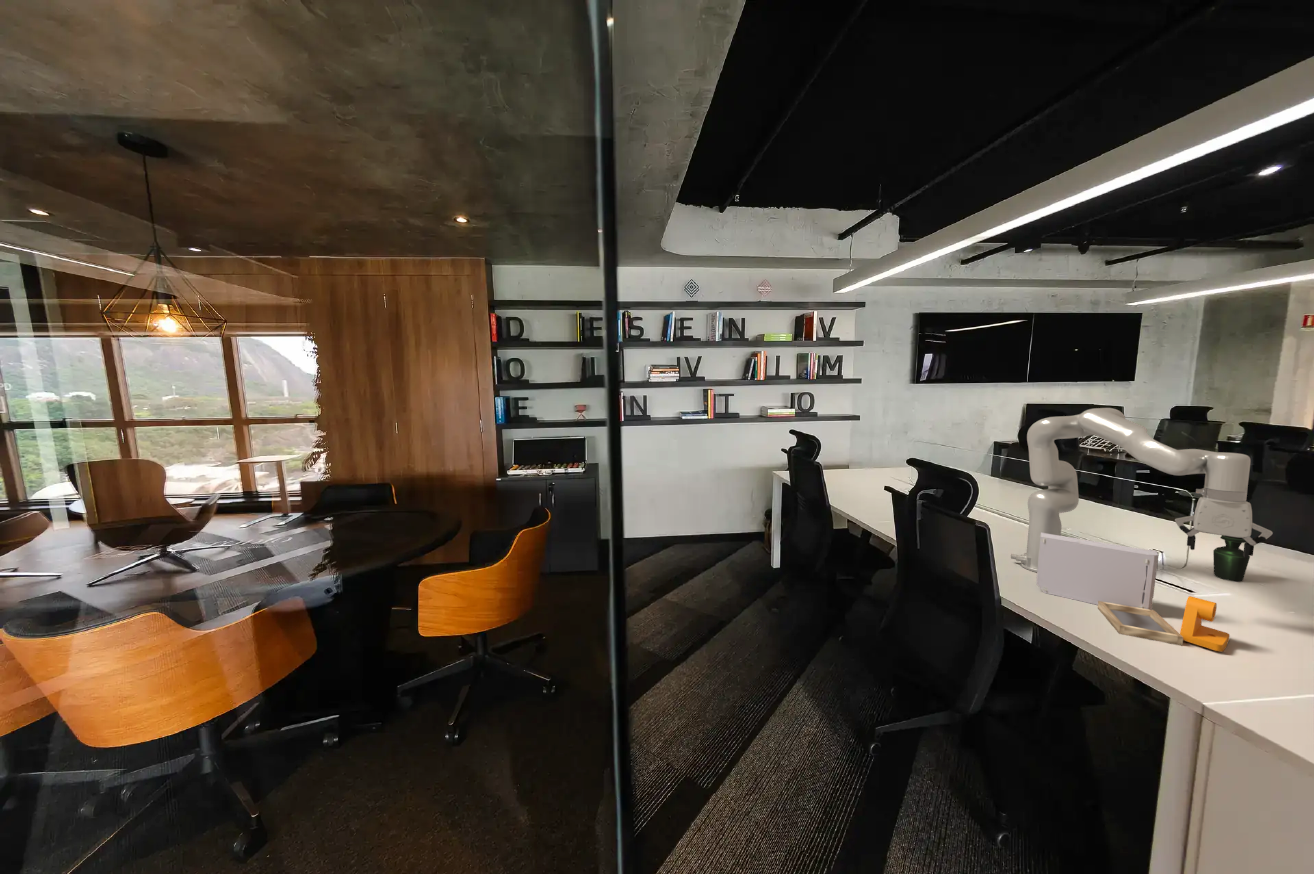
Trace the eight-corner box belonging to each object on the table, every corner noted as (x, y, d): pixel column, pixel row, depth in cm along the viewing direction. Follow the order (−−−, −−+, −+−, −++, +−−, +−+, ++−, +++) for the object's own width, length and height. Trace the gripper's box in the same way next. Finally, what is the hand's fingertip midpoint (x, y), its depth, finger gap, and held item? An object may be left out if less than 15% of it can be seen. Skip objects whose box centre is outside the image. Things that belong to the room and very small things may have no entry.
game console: (1152, 618, 134) (1159, 556, 131) (1035, 591, 152) (1040, 536, 150) (1149, 610, 138) (1156, 550, 136) (1036, 585, 156) (1040, 532, 154)
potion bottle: (1227, 573, 163) (1233, 527, 161) (1254, 583, 155) (1261, 534, 153) (1203, 573, 164) (1209, 527, 162) (1228, 582, 156) (1235, 534, 154)
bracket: (1220, 655, 115) (1226, 612, 114) (1178, 641, 122) (1184, 601, 120) (1229, 642, 121) (1234, 602, 119) (1188, 630, 127) (1193, 591, 126)
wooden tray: (1119, 633, 126) (1119, 625, 125) (1097, 608, 140) (1098, 600, 140) (1182, 645, 119) (1183, 637, 119) (1153, 617, 134) (1154, 610, 133)
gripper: (1178, 492, 129) (1172, 548, 130) (1279, 503, 116) (1271, 564, 117) (1177, 489, 134) (1171, 542, 135) (1273, 498, 121) (1266, 557, 122)
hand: (1218, 552), depth 126 cm, fingers open, 9 cm apart
